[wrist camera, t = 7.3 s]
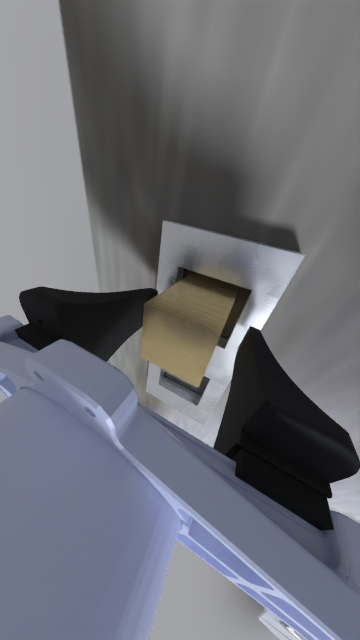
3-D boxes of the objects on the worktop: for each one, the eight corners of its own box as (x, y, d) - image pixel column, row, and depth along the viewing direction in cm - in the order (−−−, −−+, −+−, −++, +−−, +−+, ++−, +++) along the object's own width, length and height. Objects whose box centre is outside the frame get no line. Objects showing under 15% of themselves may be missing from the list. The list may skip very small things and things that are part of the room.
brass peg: (240, 287, 12) (220, 335, 7) (223, 327, 15) (198, 387, 9) (193, 272, 13) (143, 303, 8) (184, 311, 16) (141, 357, 10)
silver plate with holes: (172, 221, 12) (163, 220, 11) (300, 252, 10) (305, 255, 9) (151, 383, 24) (146, 391, 23) (206, 414, 22) (203, 424, 21)
